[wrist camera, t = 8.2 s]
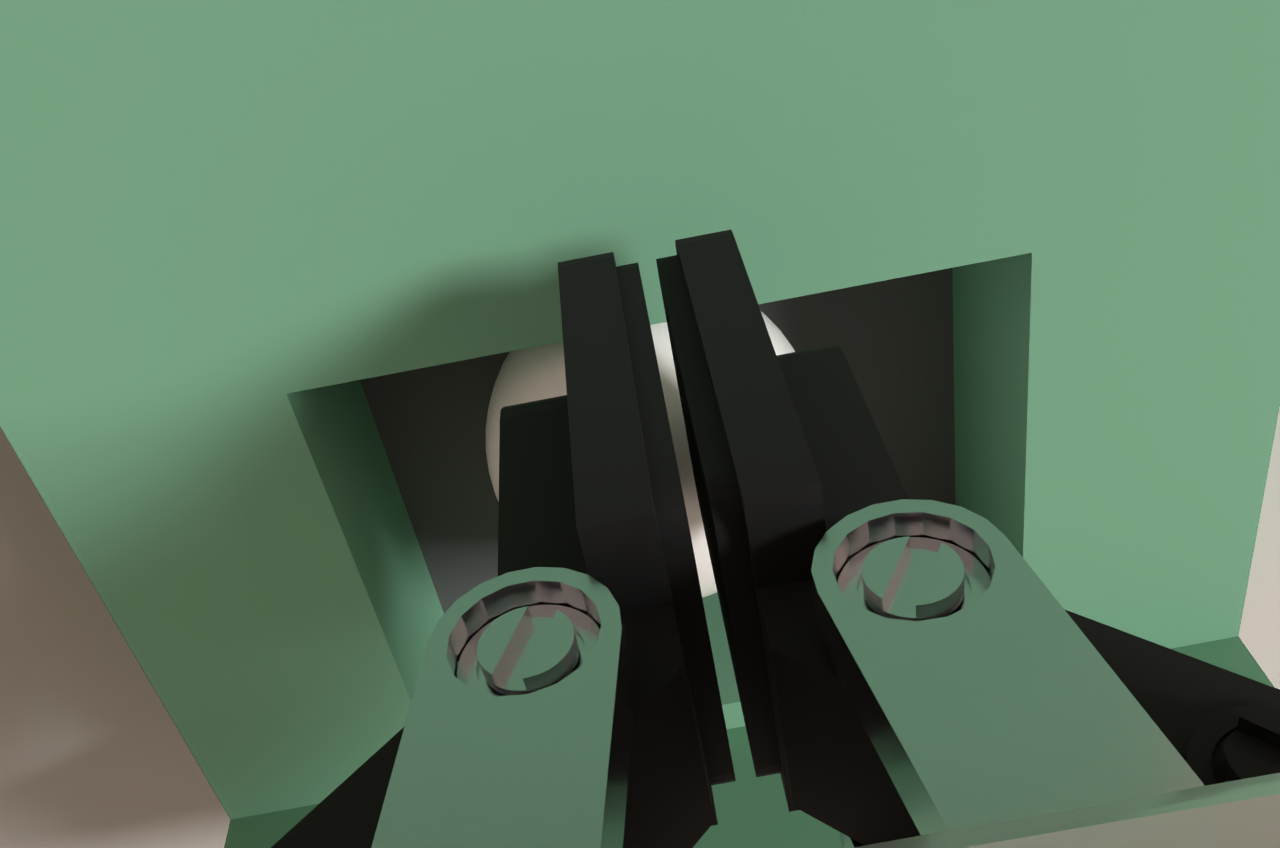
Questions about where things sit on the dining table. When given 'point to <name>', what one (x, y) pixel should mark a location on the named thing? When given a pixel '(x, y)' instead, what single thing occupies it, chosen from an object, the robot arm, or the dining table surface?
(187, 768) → the dining table surface
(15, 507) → the dining table surface
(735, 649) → the robot arm
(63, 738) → the dining table surface
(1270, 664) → the dining table surface
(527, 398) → the ball
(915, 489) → the green
